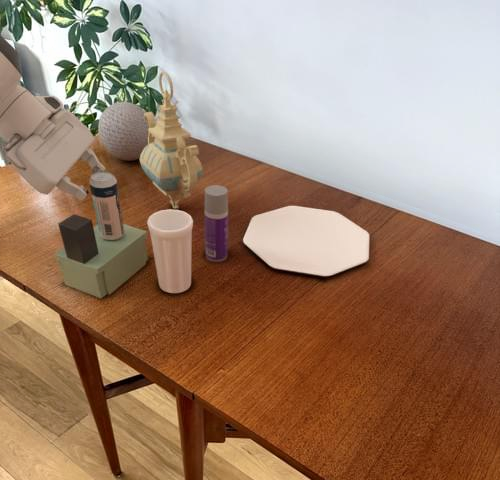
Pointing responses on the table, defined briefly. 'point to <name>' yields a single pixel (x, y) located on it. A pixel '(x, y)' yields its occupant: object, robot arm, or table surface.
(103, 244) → the sage green lidded box
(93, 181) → the white lidded canister
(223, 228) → the container
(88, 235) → the block
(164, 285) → the cup
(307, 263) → the plate
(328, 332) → the table surface
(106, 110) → the decorative ball
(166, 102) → the ornate tan lantern
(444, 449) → the table surface
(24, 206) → the table surface
